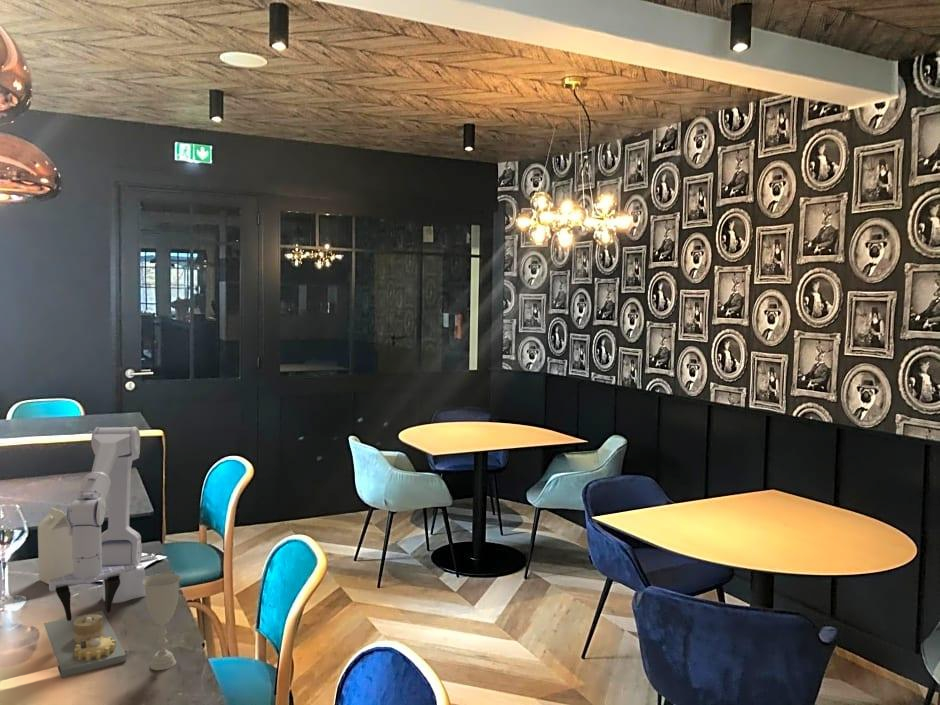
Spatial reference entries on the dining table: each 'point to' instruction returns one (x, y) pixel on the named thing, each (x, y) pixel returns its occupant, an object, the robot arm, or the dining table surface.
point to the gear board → (83, 647)
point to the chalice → (162, 612)
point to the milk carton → (54, 546)
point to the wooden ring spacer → (88, 628)
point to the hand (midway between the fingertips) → (88, 614)
